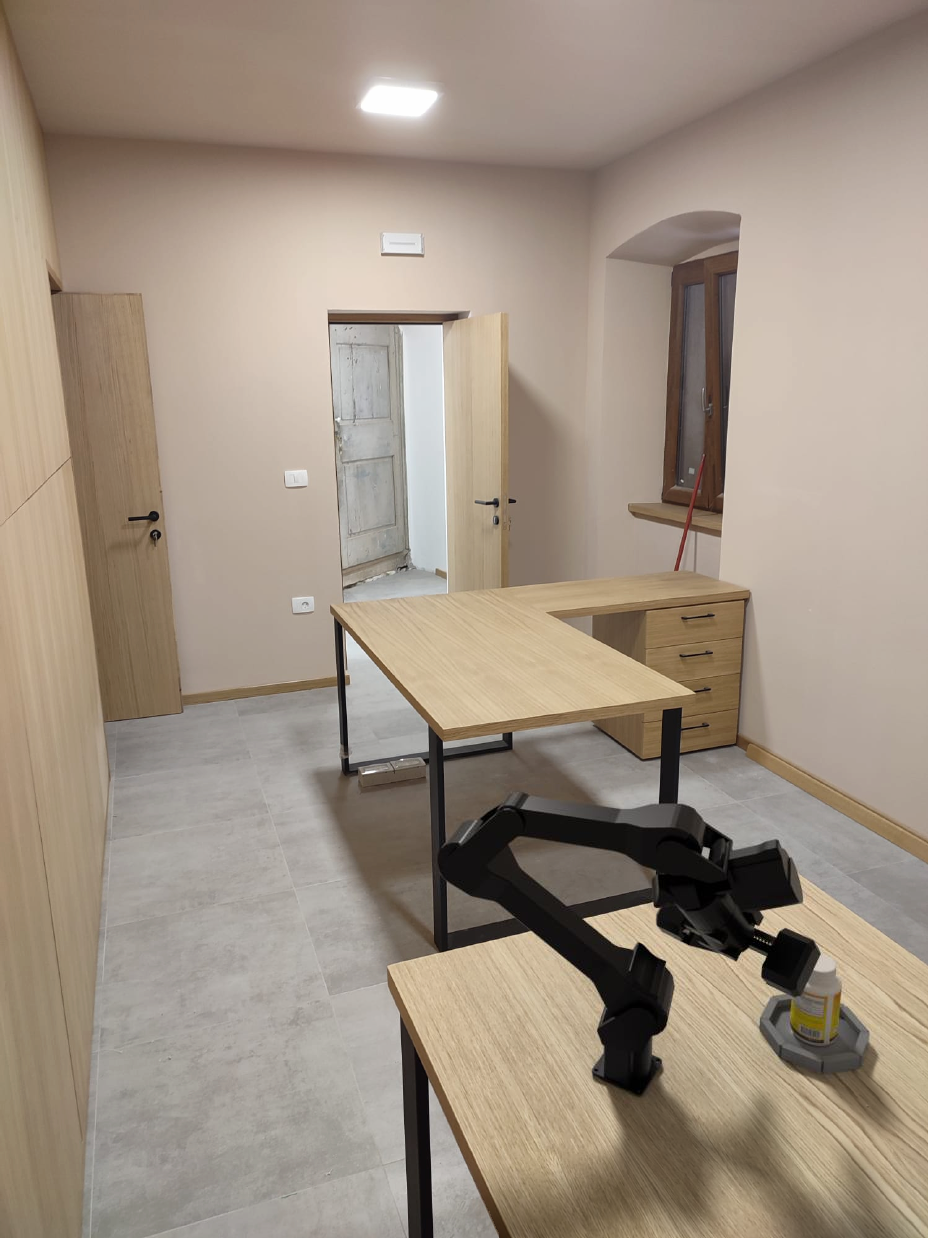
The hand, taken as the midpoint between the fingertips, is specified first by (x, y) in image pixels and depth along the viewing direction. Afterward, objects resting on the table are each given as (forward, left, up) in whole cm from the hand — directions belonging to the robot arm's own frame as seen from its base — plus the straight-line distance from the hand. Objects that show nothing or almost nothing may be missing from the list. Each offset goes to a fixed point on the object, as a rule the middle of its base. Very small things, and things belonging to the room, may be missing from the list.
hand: (757, 966), depth 105 cm
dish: (+5, -6, -11) cm, 14 cm away
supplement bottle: (+5, -6, -10) cm, 13 cm away
